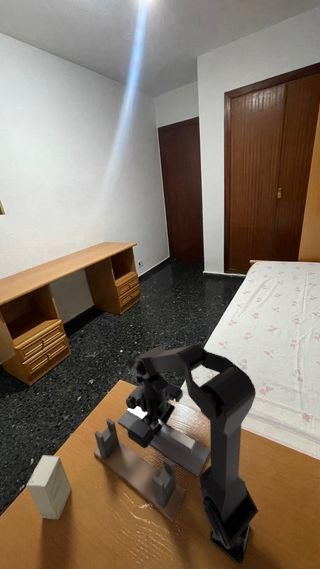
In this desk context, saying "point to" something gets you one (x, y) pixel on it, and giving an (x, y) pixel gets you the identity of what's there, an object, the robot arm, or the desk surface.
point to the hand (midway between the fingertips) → (159, 431)
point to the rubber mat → (175, 449)
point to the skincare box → (49, 487)
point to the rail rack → (140, 472)
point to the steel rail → (168, 432)
